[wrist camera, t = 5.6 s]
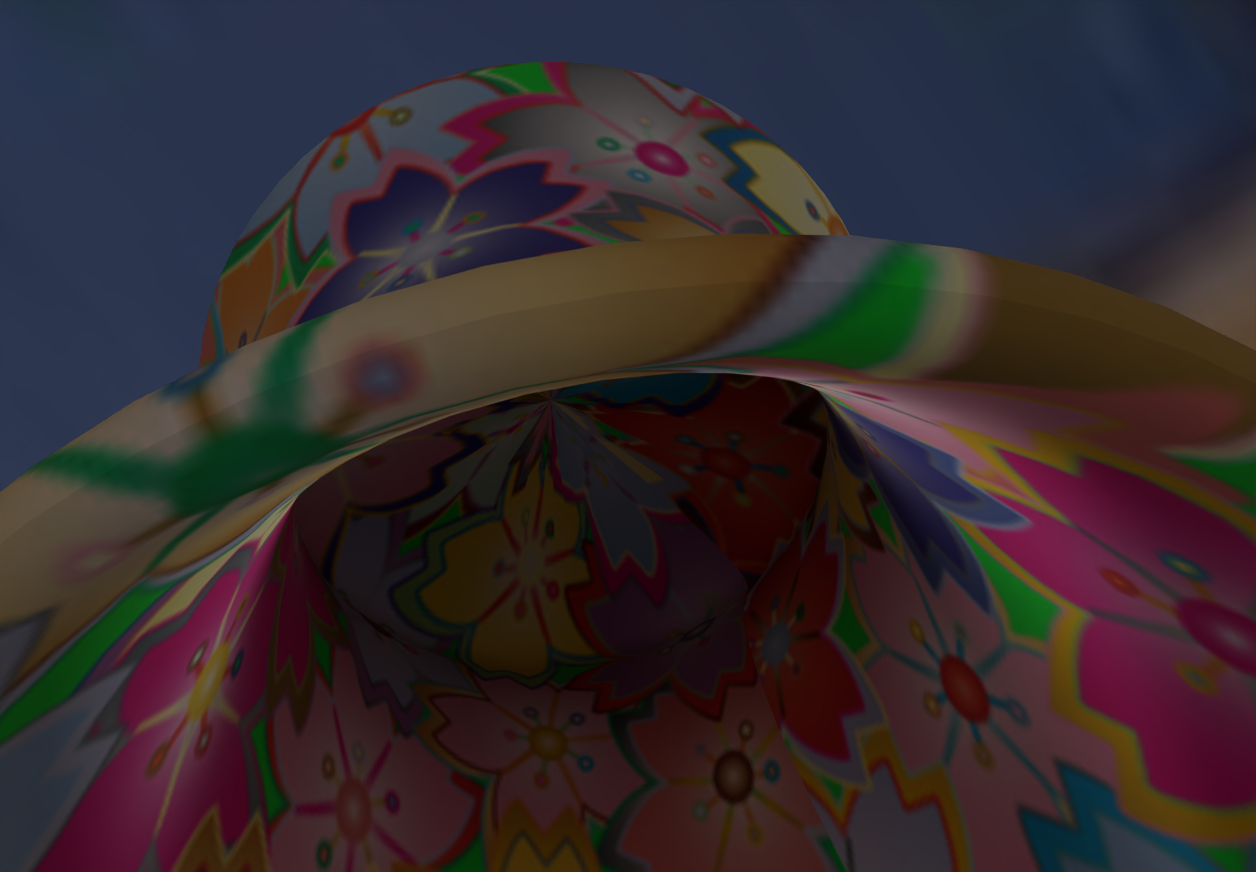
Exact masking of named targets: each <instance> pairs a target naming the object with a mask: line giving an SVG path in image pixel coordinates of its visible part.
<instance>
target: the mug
mask: <svg viewBox="0 0 1256 872" xmlns="http://www.w3.org/2000/svg"><path fill="white" fill-rule="evenodd" d="M0 872H1256V351H1255V350H1253V349H1251V348H1249V347H1247V346H1245V345H1243V344H1241V343H1239V342H1237V341H1235V340H1233V339H1231V338H1229V337H1227V336H1225V335H1223V334H1221V333H1219V332H1216V331H1214V330H1212V329H1210V328H1208V327H1206V326H1204V325H1202V324H1200V323H1198V322H1196V321H1194V320H1192V319H1190V318H1188V317H1186V316H1184V315H1182V314H1180V313H1178V312H1176V311H1174V310H1172V309H1170V308H1168V307H1165V306H1162V305H1160V304H1157V303H1154V302H1151V301H1148V300H1145V299H1142V298H1140V297H1137V296H1134V295H1131V294H1128V293H1125V292H1123V291H1120V290H1117V289H1114V288H1111V287H1108V286H1105V285H1103V284H1100V283H1097V282H1094V281H1091V280H1088V279H1085V278H1083V277H1080V276H1077V275H1074V274H1071V273H1067V272H1063V271H1058V270H1054V269H1050V268H1045V267H1041V266H1037V265H1032V264H1028V263H1024V262H1019V261H1015V260H1010V259H1006V258H1002V257H997V256H993V255H989V254H984V253H980V252H976V251H971V250H967V249H960V248H952V247H943V246H935V245H927V244H918V243H910V242H901V241H893V240H885V239H876V238H868V237H860V236H850V235H849V233H848V231H847V229H846V227H845V225H844V224H843V222H842V220H841V218H840V217H839V215H838V214H837V212H836V211H835V209H834V208H833V206H832V205H831V203H830V202H829V200H828V199H827V197H826V196H825V194H824V193H823V192H822V191H821V189H820V188H819V187H818V186H817V185H816V183H815V182H814V181H813V180H812V179H811V177H810V176H809V175H808V174H807V173H806V171H805V170H804V169H803V168H802V167H801V166H800V165H799V164H798V163H797V162H796V161H795V160H794V159H793V158H792V157H791V156H790V155H789V154H788V153H787V152H786V151H785V150H784V149H782V148H781V147H780V146H779V145H778V144H777V143H776V142H774V141H773V140H772V139H771V138H769V137H768V136H767V135H765V134H764V133H763V132H762V131H760V130H759V129H758V128H757V127H755V126H754V125H753V124H751V123H750V122H748V121H747V120H745V119H743V118H742V117H740V116H739V115H737V114H735V113H734V112H732V111H731V110H729V109H727V108H726V107H724V106H722V105H721V104H719V103H716V102H714V101H712V100H710V99H708V98H706V97H704V96H702V95H700V94H698V93H696V92H694V91H692V90H690V89H687V88H684V87H681V86H679V85H676V84H673V83H670V82H668V81H665V80H662V79H659V78H657V77H653V76H649V75H645V74H641V73H637V72H633V71H629V70H625V69H621V68H615V67H608V66H600V65H593V64H586V63H569V62H532V63H516V64H505V65H499V66H493V67H487V68H481V69H475V70H470V71H466V72H462V73H459V74H455V75H452V76H448V77H444V78H441V79H437V80H433V81H431V82H428V83H426V84H423V85H421V86H418V87H416V88H413V89H410V90H408V91H405V92H403V93H400V94H398V95H396V96H394V97H392V98H390V99H388V100H386V101H384V102H382V103H380V104H378V105H376V106H374V107H373V108H371V109H369V110H367V111H365V112H363V113H362V114H360V115H359V116H357V117H356V118H354V119H353V120H351V121H349V122H348V123H346V124H345V125H343V126H342V127H340V128H339V129H337V130H336V131H334V132H333V133H332V134H330V135H329V136H328V137H327V138H325V139H324V140H323V141H322V142H321V143H319V144H318V145H317V146H316V147H314V148H313V149H312V150H311V151H310V152H308V153H307V154H306V155H305V156H304V157H303V158H302V159H301V160H300V161H299V162H298V163H297V164H296V165H295V166H294V167H293V168H292V169H291V170H290V171H289V172H288V173H287V174H286V175H285V176H284V177H283V178H282V179H281V180H280V181H279V182H278V183H277V185H276V186H275V187H274V188H273V190H272V191H271V192H270V193H269V195H268V196H267V197H266V198H265V200H264V201H263V202H262V204H261V205H260V206H259V207H258V209H257V210H256V211H255V213H254V215H253V216H252V218H251V219H250V221H249V222H248V224H247V226H246V227H245V229H244V230H243V232H242V234H241V235H240V237H239V238H238V240H237V242H236V244H235V246H234V248H233V250H232V252H231V254H230V256H229V258H228V260H227V262H226V265H225V267H224V269H223V271H222V273H221V276H220V279H219V282H218V284H217V287H216V290H215V293H214V296H213V299H212V301H211V304H210V309H209V313H208V317H207V321H206V326H205V330H204V334H203V340H202V348H201V356H200V365H199V369H197V370H195V371H193V372H191V373H189V374H187V375H185V376H183V377H182V378H180V379H178V380H176V381H174V382H172V383H170V384H168V385H166V386H164V387H162V388H160V389H158V390H156V391H154V392H152V393H150V394H148V395H146V396H144V397H142V398H140V399H138V400H136V401H134V402H132V403H131V404H129V405H128V406H126V407H124V408H123V409H121V410H120V411H118V412H117V413H115V414H114V415H112V416H110V417H109V418H107V419H106V420H104V421H103V422H101V423H100V424H98V425H96V426H95V427H93V428H92V429H90V430H89V431H87V432H85V433H84V434H82V435H81V436H79V437H78V438H76V439H75V440H73V441H71V442H70V443H68V444H67V445H65V446H64V447H62V448H61V449H59V450H57V451H56V452H54V453H53V454H51V455H50V456H48V457H47V458H45V459H43V460H42V461H40V462H39V463H37V464H36V465H34V466H33V467H31V468H30V469H29V470H27V471H26V472H25V473H24V474H22V475H21V476H20V477H19V478H17V479H16V480H15V481H14V482H12V483H11V484H10V485H9V486H8V487H6V488H5V489H4V490H3V491H1V492H0Z"/></svg>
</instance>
